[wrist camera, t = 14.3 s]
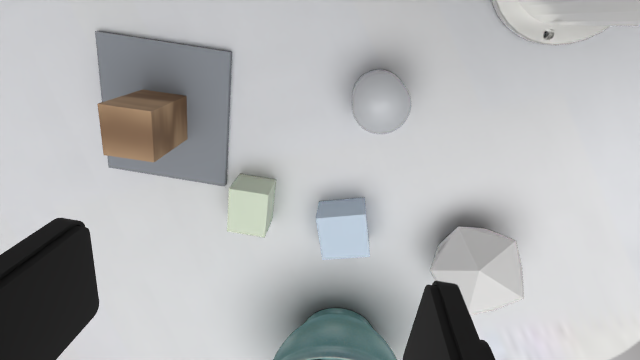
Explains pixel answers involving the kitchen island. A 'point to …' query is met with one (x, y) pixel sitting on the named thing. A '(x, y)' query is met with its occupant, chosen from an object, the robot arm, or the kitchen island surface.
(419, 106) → the kitchen island surface
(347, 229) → the dusty blue cube
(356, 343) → the flower pot
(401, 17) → the kitchen island surface
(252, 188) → the sage block
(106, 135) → the walnut block
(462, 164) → the kitchen island surface
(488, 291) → the die
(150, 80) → the slate mat
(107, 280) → the kitchen island surface
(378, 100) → the grey rounded piece
